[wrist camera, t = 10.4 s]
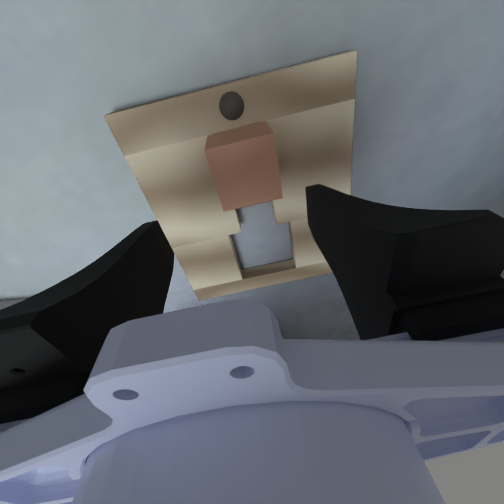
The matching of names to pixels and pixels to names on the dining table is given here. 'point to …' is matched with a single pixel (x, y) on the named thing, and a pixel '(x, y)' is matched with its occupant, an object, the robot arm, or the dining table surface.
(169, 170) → the keyhole board
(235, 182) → the slider block
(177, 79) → the dining table surface
